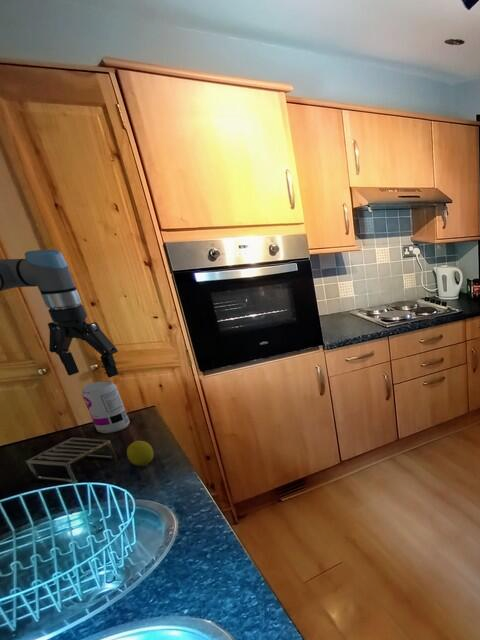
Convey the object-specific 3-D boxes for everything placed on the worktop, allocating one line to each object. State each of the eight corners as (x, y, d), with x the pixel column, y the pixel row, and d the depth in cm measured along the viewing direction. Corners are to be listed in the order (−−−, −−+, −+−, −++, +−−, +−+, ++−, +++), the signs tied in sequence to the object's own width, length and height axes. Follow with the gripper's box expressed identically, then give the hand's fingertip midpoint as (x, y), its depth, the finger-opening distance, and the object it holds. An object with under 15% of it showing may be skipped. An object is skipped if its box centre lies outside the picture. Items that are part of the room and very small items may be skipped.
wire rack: (36, 483, 118) (24, 461, 115) (81, 458, 129) (72, 437, 126) (77, 487, 117) (66, 464, 114) (119, 461, 127) (110, 440, 125)
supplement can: (97, 436, 140) (79, 393, 134) (98, 426, 145) (80, 384, 139) (130, 428, 144) (114, 386, 138) (129, 419, 150) (114, 378, 144)
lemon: (156, 457, 129) (147, 433, 126) (158, 466, 125) (148, 441, 122) (132, 464, 126) (122, 440, 123) (133, 473, 122) (122, 448, 119)
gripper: (116, 304, 131) (141, 371, 139) (41, 302, 133) (69, 368, 142) (91, 310, 124) (118, 381, 132) (12, 308, 127) (44, 377, 135)
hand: (93, 374), depth 137 cm, fingers open, 13 cm apart
